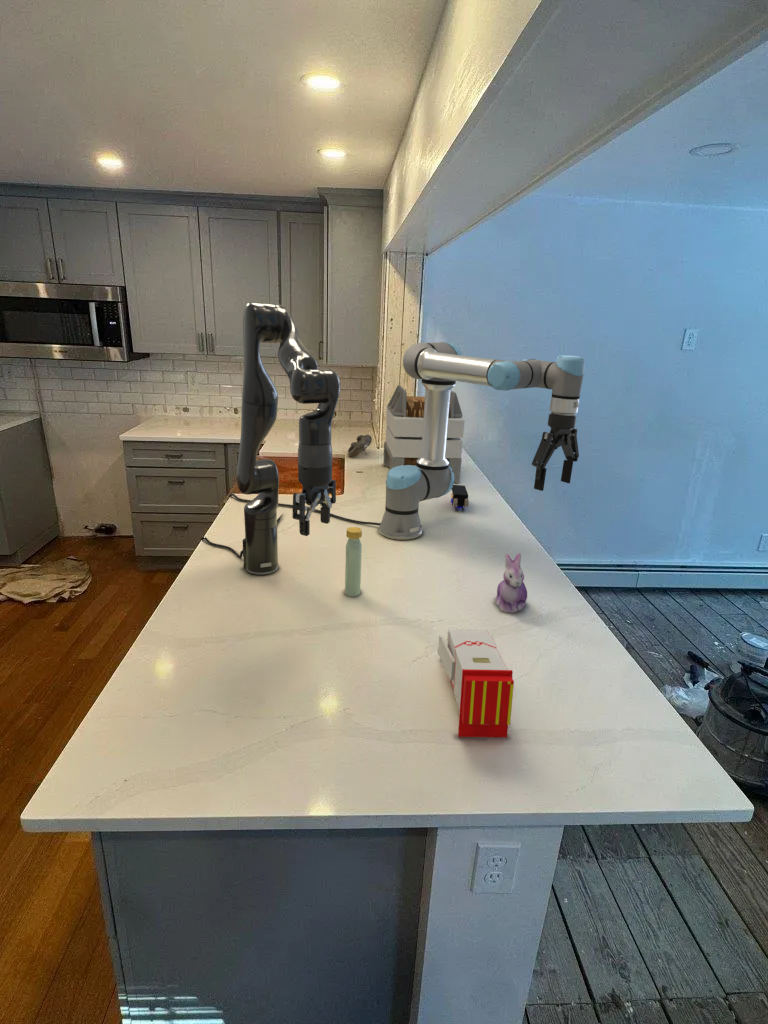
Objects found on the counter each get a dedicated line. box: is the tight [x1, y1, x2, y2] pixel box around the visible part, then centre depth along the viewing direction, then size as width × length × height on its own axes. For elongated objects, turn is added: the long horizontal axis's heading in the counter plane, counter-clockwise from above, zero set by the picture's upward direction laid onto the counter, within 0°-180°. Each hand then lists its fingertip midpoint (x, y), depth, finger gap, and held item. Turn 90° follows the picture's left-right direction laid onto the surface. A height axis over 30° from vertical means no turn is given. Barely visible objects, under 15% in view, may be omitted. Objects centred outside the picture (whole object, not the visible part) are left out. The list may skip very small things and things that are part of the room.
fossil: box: [347, 434, 373, 459], centre depth 304 cm, size 22×10×15 cm
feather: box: [277, 513, 284, 525], centre depth 210 cm, size 2×28×2 cm
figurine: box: [495, 552, 528, 614], centre depth 152 cm, size 9×10×15 cm
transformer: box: [383, 384, 465, 484], centre depth 268 cm, size 34×33×41 cm
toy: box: [437, 628, 515, 738], centre depth 117 cm, size 12×13×30 cm
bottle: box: [344, 538, 363, 597], centre depth 154 cm, size 4×4×18 cm
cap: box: [346, 526, 363, 539], centre depth 151 cm, size 4×4×2 cm
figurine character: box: [449, 484, 470, 512], centre depth 229 cm, size 7×8×15 cm
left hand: (315, 528), depth 132 cm, fingers open, 8 cm apart
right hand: (552, 485), depth 166 cm, fingers open, 13 cm apart
